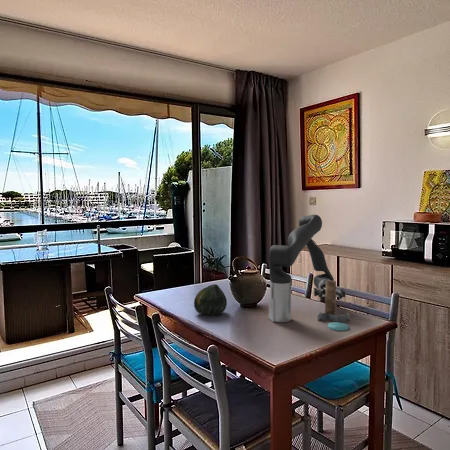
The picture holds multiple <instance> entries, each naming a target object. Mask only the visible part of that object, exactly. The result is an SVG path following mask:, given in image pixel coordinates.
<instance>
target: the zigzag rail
mask: <svg viewBox="0 0 450 450" xmlns="http://www.w3.org/2000/svg"><path fill="white" fill-rule="evenodd" d="M322 321H331V322H339V323H347V322H346V321H349V322H350V313H349V312H346V313H345V314H336V313H335V314H331V313H325V312H324V313H322V312H317V322H322Z"/></svg>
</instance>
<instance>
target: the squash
mask: <svg viewBox="0 0 450 450" xmlns="http://www.w3.org/2000/svg"><path fill="white" fill-rule="evenodd" d="M193 302H194V303H193V304H194V306H193V307H194V309H195V311H196V312H197V313H198V314H200V315H202V316H205V315H208V316H210V315H214V316H219V315H221V314H222V313H224V311H225V310H226V308H227V305H228V302H227V297H226V294H225V292H224V291H223V290H222V288H221V287H220V286H219V285H218V284H216V283H214V284H211V285H210V284H209V285H208V286H206V287H204V288H202V289H201V290H199V291H198V292H197V294H196V295H195V297H194V301H193Z"/></svg>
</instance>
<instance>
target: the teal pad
mask: <svg viewBox="0 0 450 450" xmlns="http://www.w3.org/2000/svg"><path fill="white" fill-rule="evenodd" d="M327 329H329V330H333V331H336V332H339V331H340V332H345V331H348V330H349V325H348V324H347V323H345V322H340V323H339V322H334V321H331V322H329V323H328V324H327Z"/></svg>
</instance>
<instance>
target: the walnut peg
mask: <svg viewBox="0 0 450 450" xmlns="http://www.w3.org/2000/svg"><path fill="white" fill-rule="evenodd" d="M336 289H337V281H335V280H334V281H331V280H328V281H326V288H325V297H324V298H325V299H324V306H325V307H324V313H331V314H335V315H336V307H337V306H336V303H337V301H336V300H337V299H336V298H337V297H336Z"/></svg>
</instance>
